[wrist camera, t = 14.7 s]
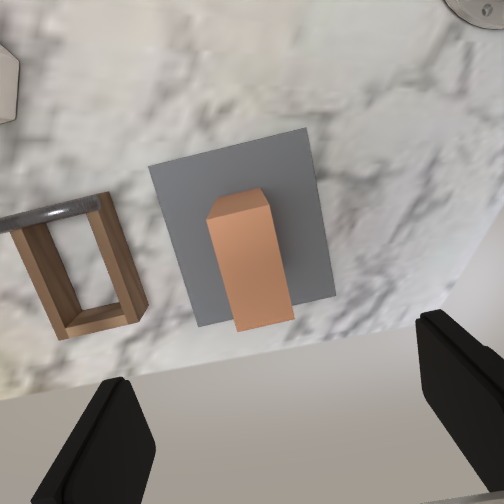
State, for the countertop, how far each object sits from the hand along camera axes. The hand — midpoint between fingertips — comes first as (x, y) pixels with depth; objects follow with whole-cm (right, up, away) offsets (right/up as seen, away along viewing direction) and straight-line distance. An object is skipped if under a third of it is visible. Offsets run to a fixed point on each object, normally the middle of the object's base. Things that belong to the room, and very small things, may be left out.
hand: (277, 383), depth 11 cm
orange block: (-1, +6, +21) cm, 22 cm away
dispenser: (-16, +3, +22) cm, 27 cm away
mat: (-1, +6, +22) cm, 22 cm away
